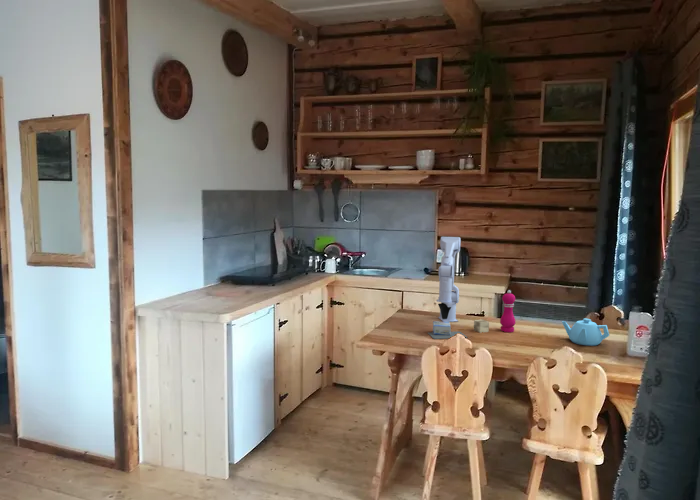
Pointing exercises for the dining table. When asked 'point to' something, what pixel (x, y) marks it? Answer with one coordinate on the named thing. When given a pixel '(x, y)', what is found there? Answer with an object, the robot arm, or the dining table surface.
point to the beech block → (481, 326)
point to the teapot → (586, 332)
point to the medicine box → (441, 328)
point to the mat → (444, 335)
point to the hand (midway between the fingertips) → (444, 318)
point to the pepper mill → (508, 313)
